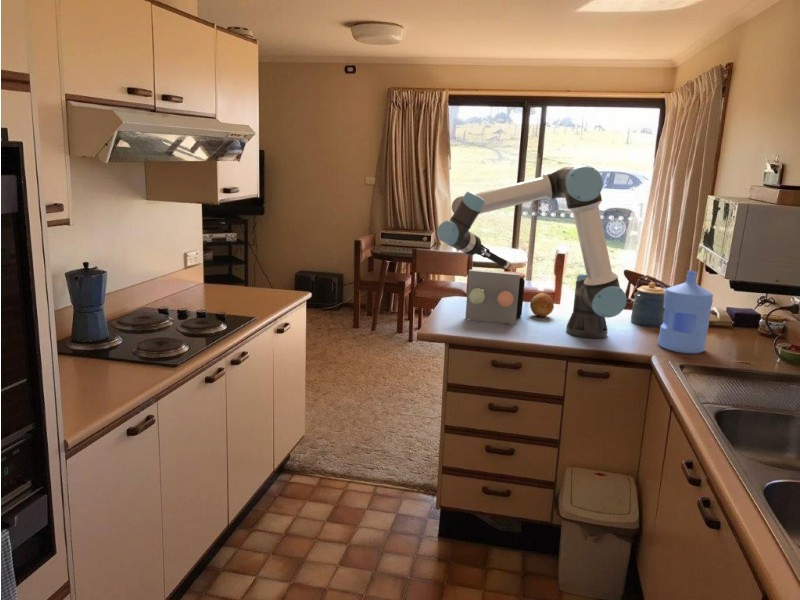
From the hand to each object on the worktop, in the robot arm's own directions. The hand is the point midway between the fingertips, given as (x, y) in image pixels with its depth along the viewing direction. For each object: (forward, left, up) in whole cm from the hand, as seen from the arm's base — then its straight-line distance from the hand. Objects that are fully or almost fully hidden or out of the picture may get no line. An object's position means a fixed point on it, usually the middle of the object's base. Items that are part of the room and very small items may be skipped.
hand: (494, 257), depth 236 cm
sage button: (+4, +4, -19) cm, 20 cm away
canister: (+6, -69, -27) cm, 75 cm away
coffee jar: (+15, -12, -27) cm, 33 cm away
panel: (+5, -2, -27) cm, 27 cm away
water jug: (-29, -63, -27) cm, 75 cm away
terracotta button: (0, -6, -19) cm, 20 cm away
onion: (+15, -26, -27) cm, 41 cm away
